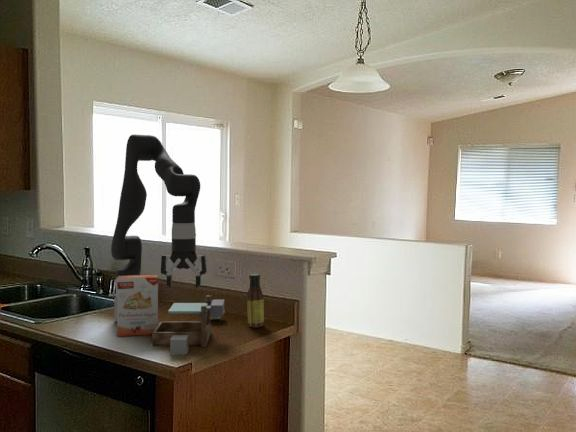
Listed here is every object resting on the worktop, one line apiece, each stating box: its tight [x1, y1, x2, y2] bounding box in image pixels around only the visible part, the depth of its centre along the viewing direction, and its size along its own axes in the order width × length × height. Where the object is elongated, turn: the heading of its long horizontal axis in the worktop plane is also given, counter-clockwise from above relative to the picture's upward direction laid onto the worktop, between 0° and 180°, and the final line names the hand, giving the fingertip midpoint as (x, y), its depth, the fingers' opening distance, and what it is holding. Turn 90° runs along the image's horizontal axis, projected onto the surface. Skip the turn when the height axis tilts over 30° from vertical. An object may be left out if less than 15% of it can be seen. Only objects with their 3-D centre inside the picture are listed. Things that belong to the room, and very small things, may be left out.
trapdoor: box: [167, 299, 225, 318], centre depth 182 cm, size 18×12×4 cm, turn 93°
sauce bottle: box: [246, 273, 265, 329], centre depth 200 cm, size 6×6×20 cm
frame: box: [151, 294, 213, 348], centre depth 182 cm, size 18×18×14 cm
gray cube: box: [169, 335, 189, 356], centre depth 168 cm, size 5×5×5 cm
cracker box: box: [116, 274, 159, 338], centre depth 188 cm, size 14×6×21 cm, turn 106°
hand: (183, 287), depth 168 cm, fingers open, 8 cm apart
